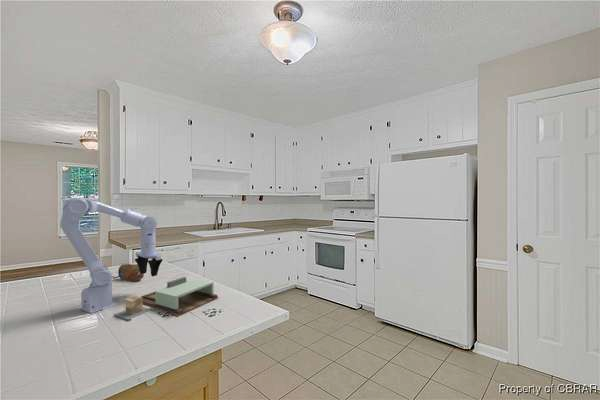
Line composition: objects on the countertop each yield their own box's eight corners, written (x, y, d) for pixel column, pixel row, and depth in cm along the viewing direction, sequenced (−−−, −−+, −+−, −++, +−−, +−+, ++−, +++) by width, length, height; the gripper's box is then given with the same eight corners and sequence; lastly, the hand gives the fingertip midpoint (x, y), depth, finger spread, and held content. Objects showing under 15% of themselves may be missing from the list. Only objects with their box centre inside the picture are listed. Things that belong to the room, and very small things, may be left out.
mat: (128, 321, 97) (128, 319, 97) (113, 315, 101) (113, 314, 101) (152, 311, 105) (152, 309, 105) (138, 307, 109) (138, 305, 109)
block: (132, 314, 101) (131, 301, 101) (125, 312, 103) (125, 299, 102) (142, 310, 104) (142, 297, 104) (136, 308, 106) (136, 295, 106)
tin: (117, 279, 145) (117, 263, 145) (123, 278, 148) (122, 262, 148) (140, 282, 140) (140, 265, 140) (145, 280, 143) (145, 264, 143)
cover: (176, 309, 102) (175, 291, 102) (155, 303, 108) (155, 286, 107) (213, 293, 118) (213, 277, 118) (193, 289, 124) (193, 273, 124)
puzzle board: (177, 316, 100) (177, 312, 100) (129, 301, 115) (129, 298, 115) (218, 298, 118) (218, 294, 118) (171, 287, 132) (171, 284, 132)
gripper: (167, 243, 121) (167, 274, 121) (146, 241, 128) (147, 270, 128) (152, 246, 114) (152, 278, 115) (131, 243, 121) (131, 274, 122)
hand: (148, 274), depth 121 cm, fingers open, 7 cm apart
